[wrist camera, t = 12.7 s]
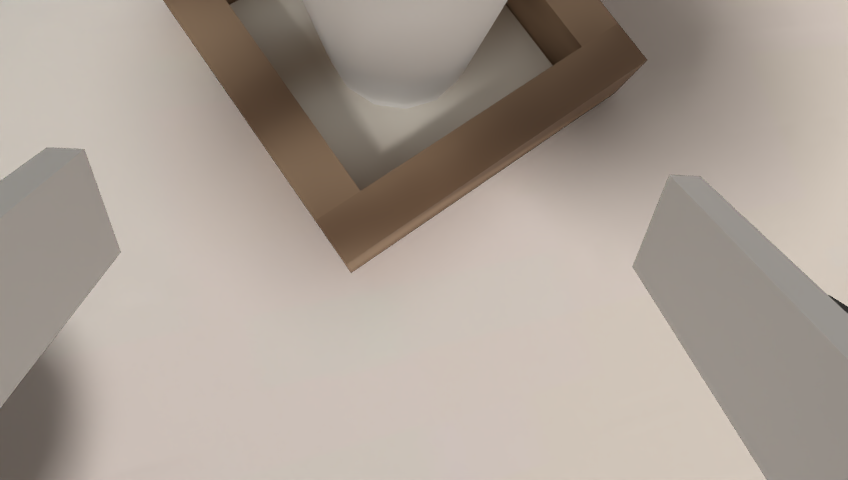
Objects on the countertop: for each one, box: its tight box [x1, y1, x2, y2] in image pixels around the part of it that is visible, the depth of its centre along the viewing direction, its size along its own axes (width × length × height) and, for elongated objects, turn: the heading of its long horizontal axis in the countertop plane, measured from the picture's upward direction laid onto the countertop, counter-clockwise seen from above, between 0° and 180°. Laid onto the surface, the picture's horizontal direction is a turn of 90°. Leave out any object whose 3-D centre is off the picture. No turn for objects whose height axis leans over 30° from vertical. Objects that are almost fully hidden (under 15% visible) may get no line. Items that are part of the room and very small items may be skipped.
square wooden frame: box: [163, 0, 647, 273], centre depth 21 cm, size 15×15×3 cm
